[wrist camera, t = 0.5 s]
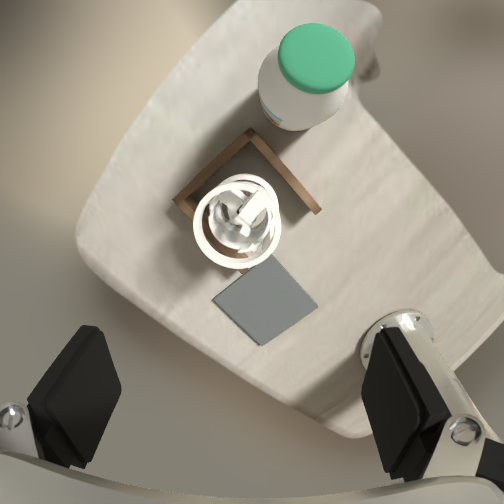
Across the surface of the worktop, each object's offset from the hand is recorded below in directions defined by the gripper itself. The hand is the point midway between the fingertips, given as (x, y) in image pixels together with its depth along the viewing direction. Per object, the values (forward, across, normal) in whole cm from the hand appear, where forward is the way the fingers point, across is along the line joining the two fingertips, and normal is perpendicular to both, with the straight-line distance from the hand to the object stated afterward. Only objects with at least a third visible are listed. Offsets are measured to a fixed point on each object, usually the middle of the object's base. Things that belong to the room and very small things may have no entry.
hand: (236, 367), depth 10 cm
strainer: (+30, +1, 0) cm, 30 cm away
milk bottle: (+31, -5, -12) cm, 33 cm away
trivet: (+30, -1, +14) cm, 33 cm away
